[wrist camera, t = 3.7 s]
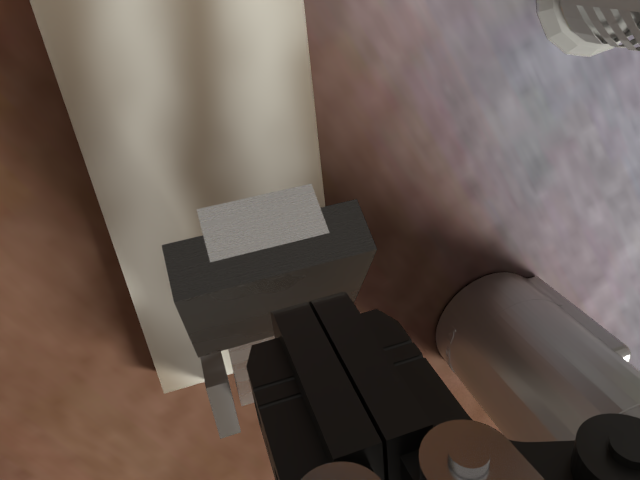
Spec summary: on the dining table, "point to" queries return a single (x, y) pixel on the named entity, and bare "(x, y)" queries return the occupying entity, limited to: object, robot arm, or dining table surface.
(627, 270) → the dining table surface
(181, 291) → the lever
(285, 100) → the press base
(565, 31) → the french press
